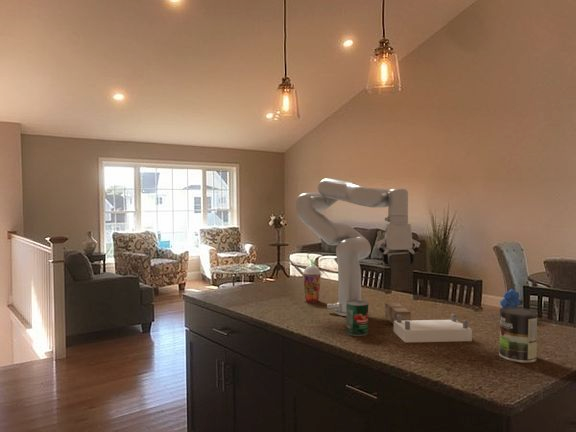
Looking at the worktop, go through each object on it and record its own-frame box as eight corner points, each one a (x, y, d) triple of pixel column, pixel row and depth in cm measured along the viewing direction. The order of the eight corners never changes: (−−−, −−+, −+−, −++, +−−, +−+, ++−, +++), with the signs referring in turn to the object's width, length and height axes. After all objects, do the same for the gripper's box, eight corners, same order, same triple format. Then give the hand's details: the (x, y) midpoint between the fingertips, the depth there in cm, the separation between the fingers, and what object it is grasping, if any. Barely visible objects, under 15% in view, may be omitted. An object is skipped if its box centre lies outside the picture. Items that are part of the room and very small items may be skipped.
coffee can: (511, 363, 134) (511, 315, 134) (492, 352, 144) (493, 307, 144) (544, 362, 135) (545, 314, 134) (523, 351, 145) (524, 306, 145)
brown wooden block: (410, 327, 173) (410, 311, 173) (397, 328, 173) (397, 312, 173) (397, 317, 189) (397, 302, 189) (385, 317, 189) (385, 302, 188)
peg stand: (405, 342, 154) (405, 323, 154) (393, 331, 167) (393, 313, 167) (471, 341, 156) (472, 321, 155) (455, 330, 169) (455, 312, 168)
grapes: (508, 314, 192) (509, 286, 191) (524, 318, 186) (524, 288, 186) (491, 318, 186) (491, 288, 185) (506, 322, 180) (506, 291, 180)
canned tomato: (363, 337, 160) (363, 305, 160) (342, 333, 164) (342, 303, 164) (371, 331, 167) (371, 301, 167) (351, 328, 171) (351, 299, 171)
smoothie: (300, 302, 217) (300, 259, 216) (306, 298, 224) (306, 257, 224) (317, 303, 213) (317, 260, 213) (323, 300, 221) (323, 258, 221)
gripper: (378, 220, 175) (378, 265, 176) (423, 220, 176) (423, 265, 177) (373, 220, 183) (373, 263, 183) (416, 219, 184) (416, 262, 184)
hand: (398, 264), depth 180 cm, fingers open, 9 cm apart
